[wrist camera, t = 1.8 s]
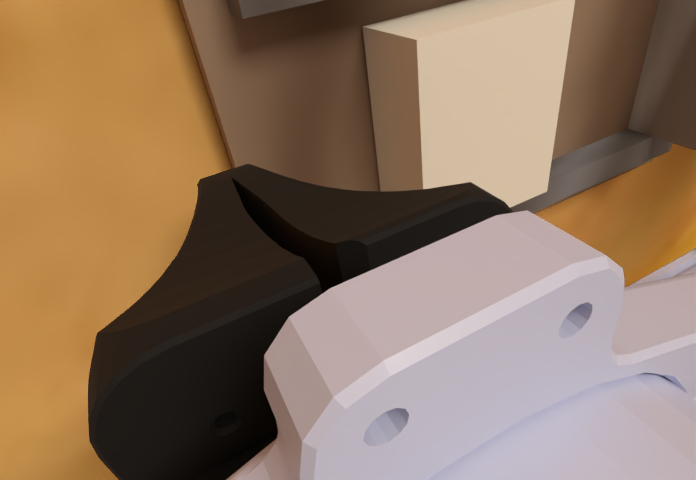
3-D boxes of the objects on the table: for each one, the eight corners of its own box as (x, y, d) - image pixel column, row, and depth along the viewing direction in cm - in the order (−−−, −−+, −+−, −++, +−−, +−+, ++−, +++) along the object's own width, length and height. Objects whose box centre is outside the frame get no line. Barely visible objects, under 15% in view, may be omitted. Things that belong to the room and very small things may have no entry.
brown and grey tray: (729, -185, 15) (876, -218, 13) (637, 155, 23) (715, 183, 20) (143, -106, 10) (166, -133, 7) (279, 312, 17) (316, 383, 14)
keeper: (503, -10, 14) (575, -5, 12) (493, 163, 17) (547, 191, 15) (362, 26, 12) (416, 39, 10) (382, 207, 16) (425, 244, 14)
